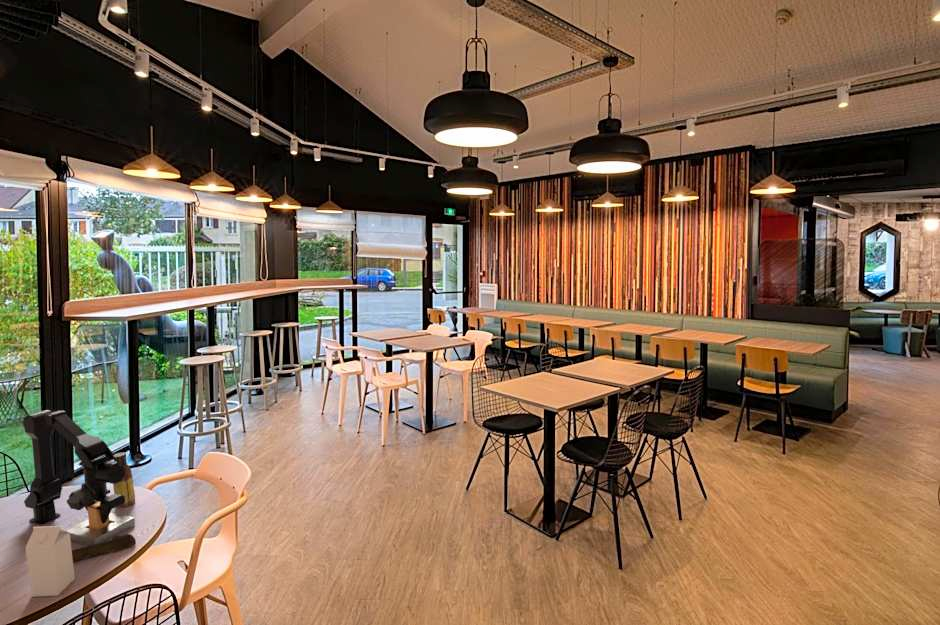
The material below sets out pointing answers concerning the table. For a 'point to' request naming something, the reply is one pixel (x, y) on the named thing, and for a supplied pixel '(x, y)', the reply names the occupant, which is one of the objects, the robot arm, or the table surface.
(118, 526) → the grey square hole board
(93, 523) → the orange rectangular block
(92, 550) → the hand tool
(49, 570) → the milk carton
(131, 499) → the sauce bottle
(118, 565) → the table surface
